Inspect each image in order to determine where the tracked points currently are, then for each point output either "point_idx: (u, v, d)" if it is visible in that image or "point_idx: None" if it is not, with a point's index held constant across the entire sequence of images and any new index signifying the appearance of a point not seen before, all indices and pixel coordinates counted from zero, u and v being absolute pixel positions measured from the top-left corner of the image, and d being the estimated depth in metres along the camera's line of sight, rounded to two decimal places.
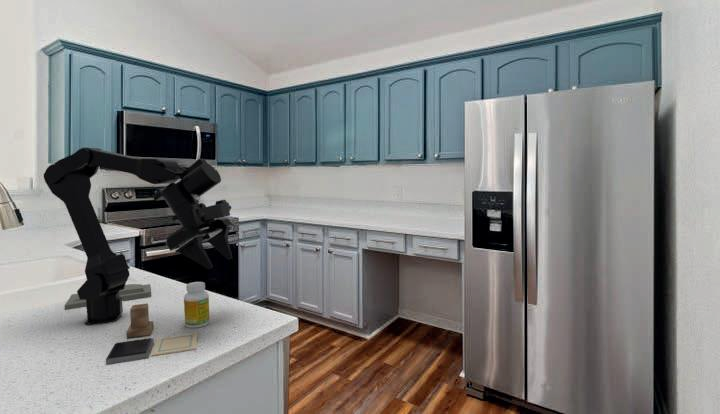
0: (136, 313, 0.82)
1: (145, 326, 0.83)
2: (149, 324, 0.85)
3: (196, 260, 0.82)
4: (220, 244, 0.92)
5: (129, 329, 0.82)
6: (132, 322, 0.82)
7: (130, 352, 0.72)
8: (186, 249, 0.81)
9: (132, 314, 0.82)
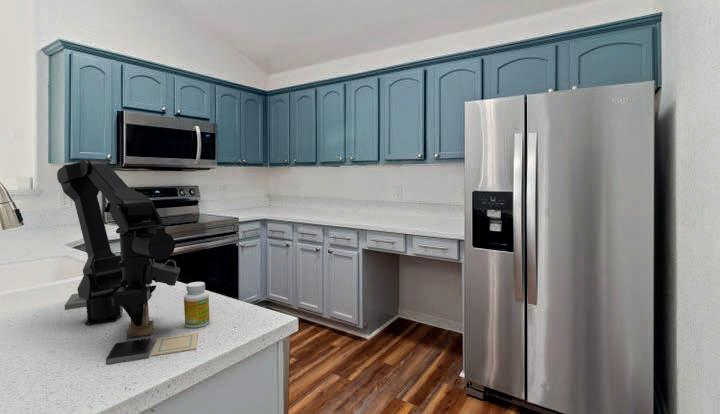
0: None
1: (145, 326, 0.83)
2: (149, 324, 0.85)
3: (130, 315, 0.81)
4: None
5: (129, 329, 0.82)
6: (132, 322, 0.82)
7: (130, 352, 0.72)
8: None
9: None
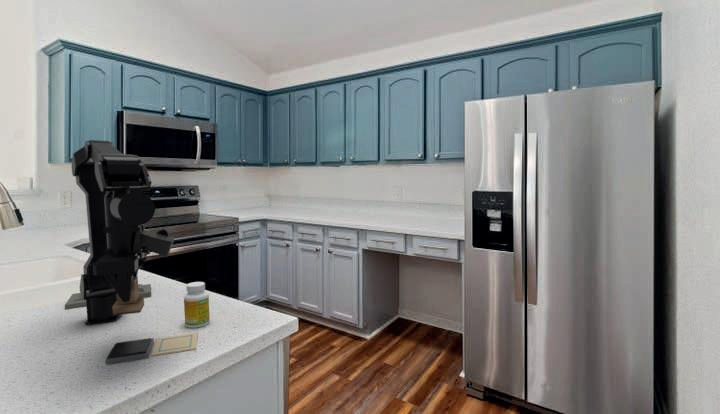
0: None
1: (134, 301, 0.73)
2: (139, 299, 0.75)
3: (116, 288, 0.71)
4: None
5: (115, 304, 0.72)
6: None
7: (130, 352, 0.72)
8: None
9: None
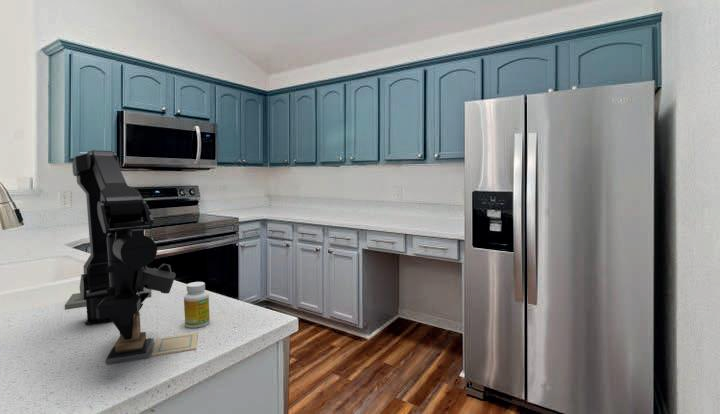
0: None
1: (136, 338, 0.74)
2: (141, 336, 0.76)
3: (118, 327, 0.71)
4: None
5: (118, 342, 0.73)
6: (121, 334, 0.73)
7: (130, 352, 0.72)
8: None
9: None
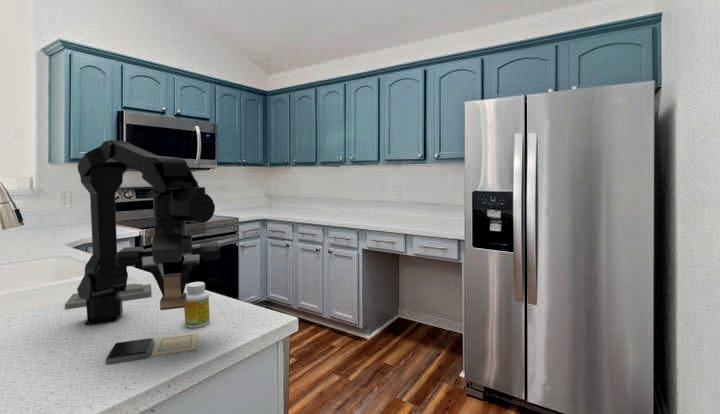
0: None
1: None
2: (173, 299, 0.76)
3: None
4: None
5: None
6: None
7: (130, 352, 0.72)
8: None
9: None
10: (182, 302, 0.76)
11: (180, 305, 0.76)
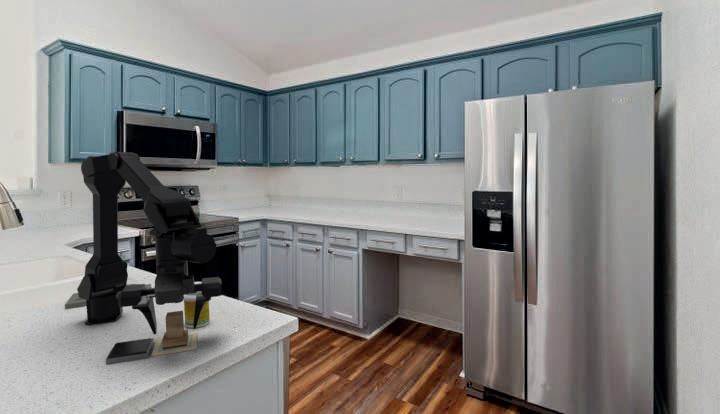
0: None
1: (166, 337, 0.77)
2: (175, 338, 0.77)
3: None
4: None
5: None
6: None
7: (130, 352, 0.72)
8: None
9: None
10: (184, 341, 0.77)
11: (182, 344, 0.77)
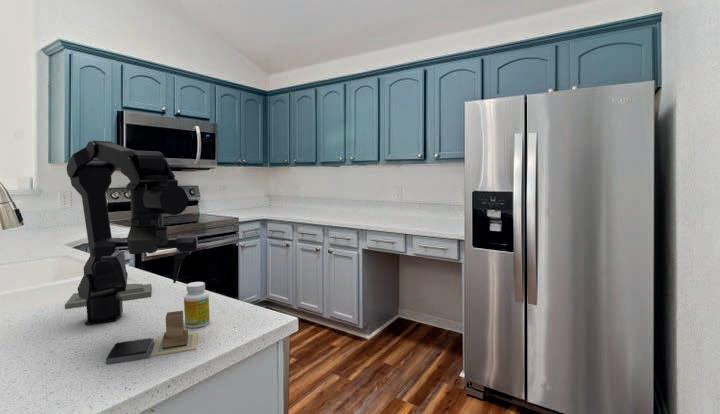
0: None
1: (166, 337, 0.77)
2: (175, 338, 0.77)
3: None
4: None
5: None
6: None
7: (130, 352, 0.72)
8: None
9: None
10: (184, 341, 0.77)
11: (182, 344, 0.77)
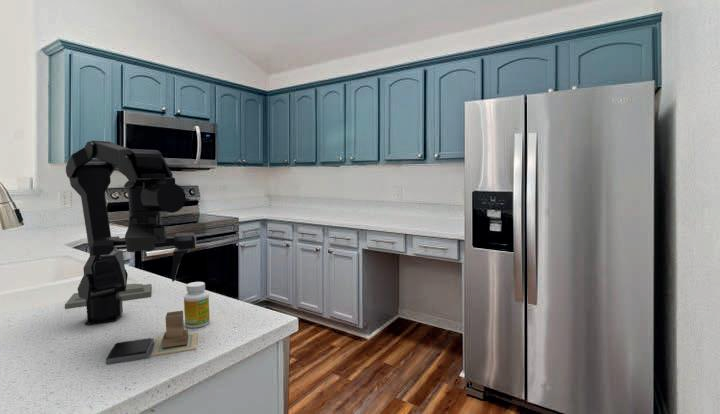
0: None
1: (166, 337, 0.77)
2: (175, 338, 0.77)
3: None
4: None
5: None
6: None
7: (130, 352, 0.72)
8: None
9: None
10: (184, 341, 0.77)
11: (182, 344, 0.77)
